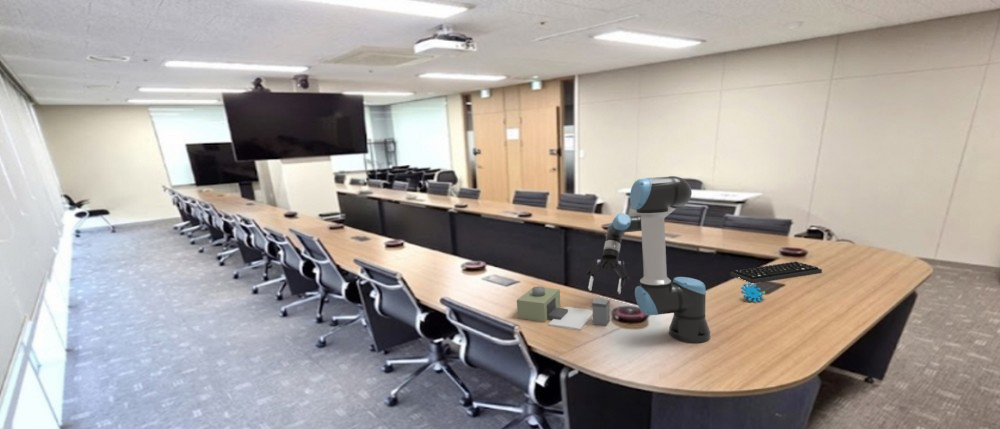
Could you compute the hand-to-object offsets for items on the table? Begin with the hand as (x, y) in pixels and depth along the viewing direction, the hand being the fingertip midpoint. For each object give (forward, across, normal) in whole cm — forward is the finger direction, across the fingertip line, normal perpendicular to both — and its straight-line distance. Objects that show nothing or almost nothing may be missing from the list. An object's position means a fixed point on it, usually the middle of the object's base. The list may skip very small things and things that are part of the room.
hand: (604, 291), depth 191 cm
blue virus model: (-21, -60, -38) cm, 74 cm away
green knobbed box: (+14, +21, -3) cm, 26 cm away
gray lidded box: (+14, -1, -3) cm, 14 cm away
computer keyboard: (-53, -73, -72) cm, 115 cm away
